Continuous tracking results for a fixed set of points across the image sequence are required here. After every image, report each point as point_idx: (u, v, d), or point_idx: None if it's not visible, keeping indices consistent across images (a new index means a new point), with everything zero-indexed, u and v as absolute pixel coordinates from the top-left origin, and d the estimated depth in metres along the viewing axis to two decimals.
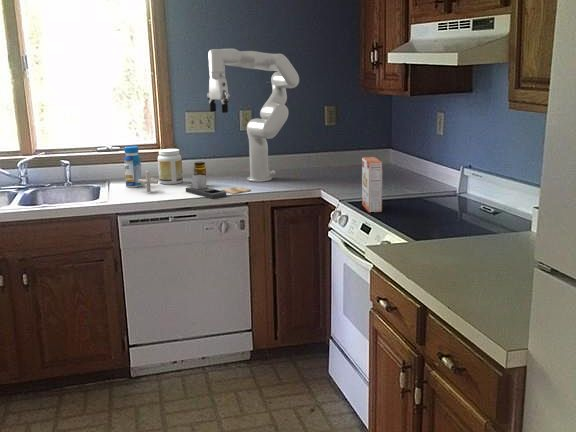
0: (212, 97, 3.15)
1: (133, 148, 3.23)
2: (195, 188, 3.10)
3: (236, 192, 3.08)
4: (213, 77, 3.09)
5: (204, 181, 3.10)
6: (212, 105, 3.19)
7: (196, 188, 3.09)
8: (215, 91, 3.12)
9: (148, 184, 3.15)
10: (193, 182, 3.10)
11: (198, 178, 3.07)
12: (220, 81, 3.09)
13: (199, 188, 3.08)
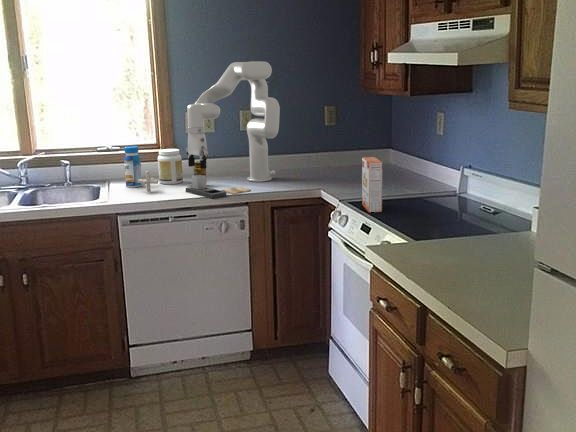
0: (190, 152, 3.07)
1: (133, 148, 3.23)
2: (195, 188, 3.10)
3: (236, 192, 3.08)
4: (192, 133, 3.02)
5: (204, 181, 3.10)
6: (191, 160, 3.11)
7: (196, 188, 3.09)
8: (193, 146, 3.04)
9: (148, 184, 3.15)
10: (193, 182, 3.10)
11: (198, 178, 3.07)
12: (199, 137, 3.01)
13: (199, 188, 3.08)
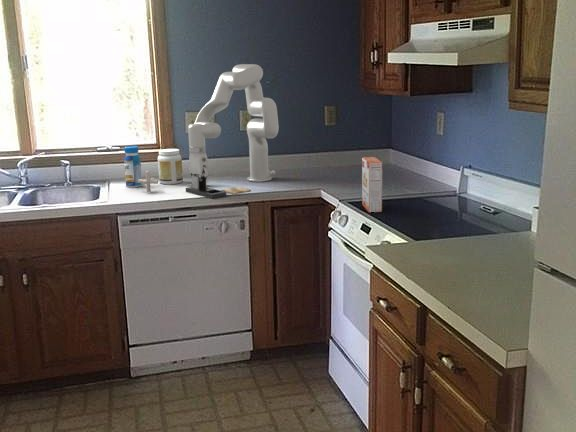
0: (192, 171, 3.09)
1: (133, 148, 3.23)
2: (195, 188, 3.10)
3: (236, 192, 3.08)
4: (193, 152, 3.04)
5: None
6: None
7: (196, 188, 3.09)
8: (195, 166, 3.06)
9: (148, 184, 3.15)
10: (193, 182, 3.10)
11: (198, 178, 3.07)
12: (200, 156, 3.04)
13: (199, 188, 3.08)
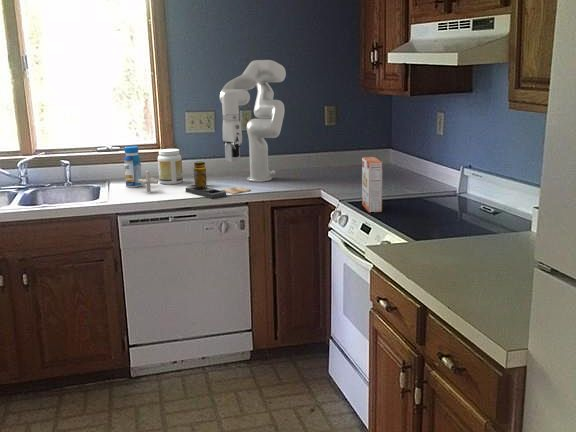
0: (225, 139, 3.08)
1: (133, 148, 3.23)
2: (228, 156, 3.08)
3: (236, 192, 3.08)
4: (226, 120, 3.02)
5: None
6: None
7: (229, 156, 3.07)
8: (228, 133, 3.05)
9: (148, 184, 3.15)
10: (226, 150, 3.08)
11: (231, 146, 3.05)
12: (234, 124, 3.02)
13: (232, 156, 3.07)
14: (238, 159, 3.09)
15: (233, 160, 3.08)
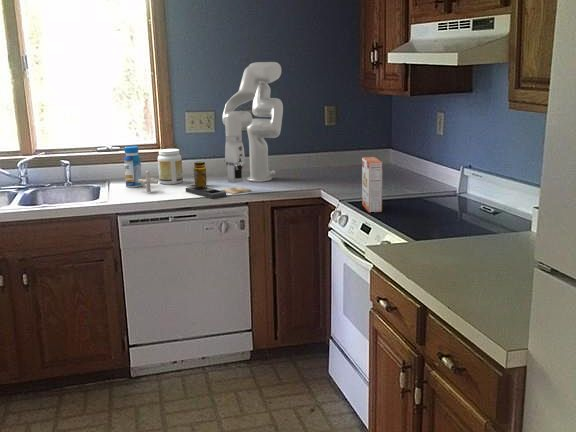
0: (228, 160, 3.10)
1: (133, 148, 3.23)
2: (231, 177, 3.10)
3: (236, 192, 3.08)
4: (230, 141, 3.04)
5: None
6: None
7: (232, 177, 3.09)
8: (231, 155, 3.07)
9: (148, 184, 3.15)
10: (229, 171, 3.10)
11: (234, 167, 3.07)
12: (237, 145, 3.04)
13: (235, 177, 3.09)
14: (240, 180, 3.11)
15: (236, 181, 3.10)
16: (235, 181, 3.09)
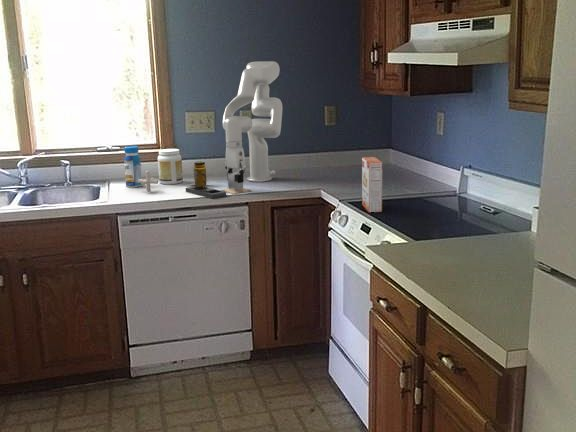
0: (229, 165, 3.11)
1: (133, 148, 3.23)
2: (231, 185, 3.11)
3: (236, 192, 3.08)
4: (230, 146, 3.05)
5: None
6: None
7: (233, 185, 3.10)
8: (231, 160, 3.08)
9: (148, 184, 3.15)
10: (229, 179, 3.11)
11: (235, 175, 3.09)
12: (237, 151, 3.05)
13: (236, 185, 3.10)
14: (241, 188, 3.13)
15: (237, 190, 3.11)
16: (236, 189, 3.11)
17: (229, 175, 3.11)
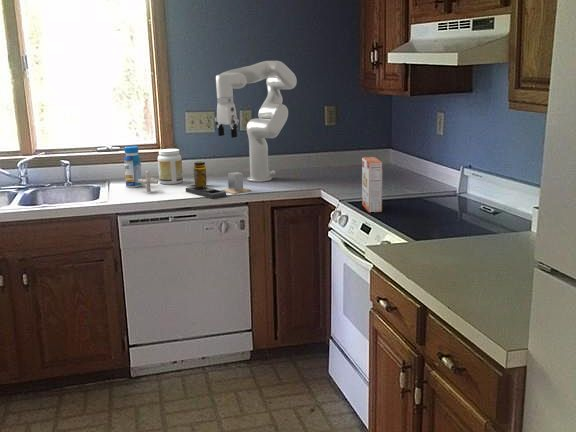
0: (220, 122, 3.14)
1: (133, 148, 3.23)
2: (231, 185, 3.11)
3: (236, 192, 3.08)
4: (221, 102, 3.08)
5: (240, 178, 3.11)
6: (220, 129, 3.18)
7: (233, 185, 3.10)
8: (223, 116, 3.11)
9: (148, 184, 3.15)
10: (229, 179, 3.11)
11: (235, 175, 3.09)
12: (229, 106, 3.08)
13: (236, 185, 3.10)
14: (241, 188, 3.13)
15: (237, 190, 3.11)
16: (236, 189, 3.11)
17: (229, 175, 3.11)
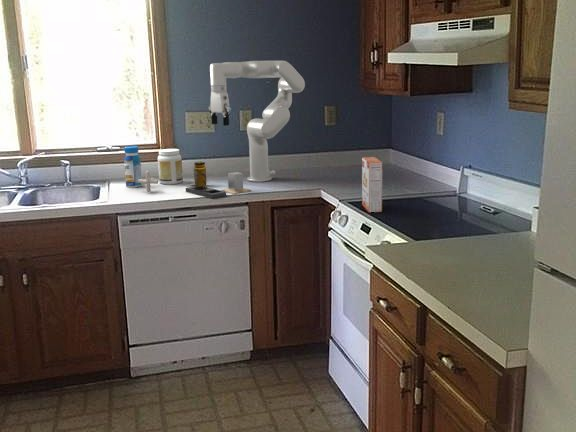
0: (213, 110, 3.19)
1: (133, 148, 3.23)
2: (231, 185, 3.11)
3: (236, 192, 3.08)
4: (214, 91, 3.13)
5: (240, 178, 3.11)
6: (213, 118, 3.23)
7: (233, 185, 3.10)
8: (216, 104, 3.16)
9: (148, 184, 3.15)
10: (229, 179, 3.11)
11: (235, 175, 3.09)
12: (221, 94, 3.13)
13: (236, 185, 3.10)
14: (241, 188, 3.13)
15: (237, 190, 3.11)
16: (236, 189, 3.11)
17: (229, 175, 3.11)
